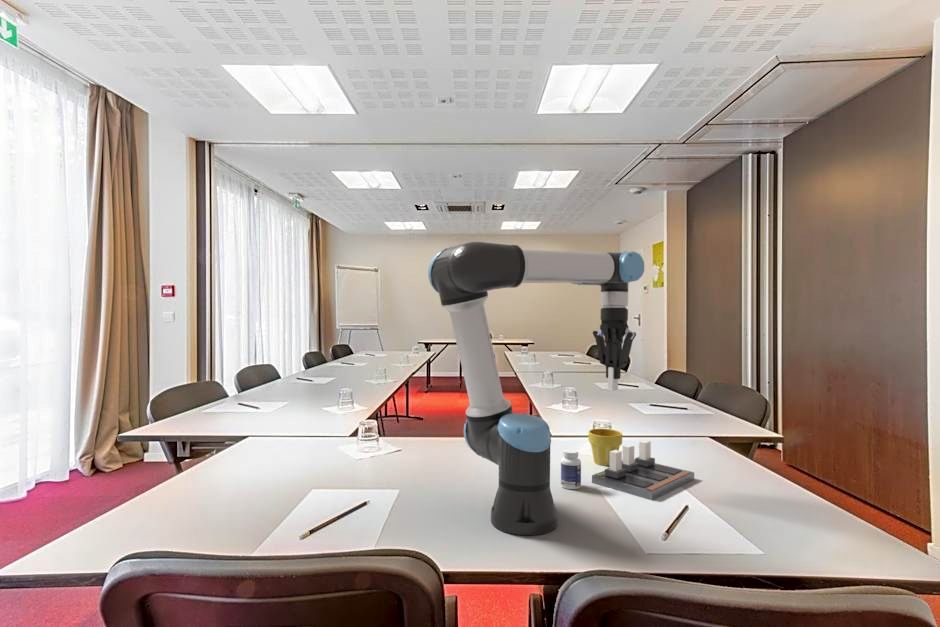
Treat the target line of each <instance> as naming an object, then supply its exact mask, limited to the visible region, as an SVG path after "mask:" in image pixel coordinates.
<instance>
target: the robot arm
mask: <svg viewBox="0 0 940 627" xmlns="http://www.w3.org/2000/svg"><path fill="white" fill-rule="evenodd" d="M644 273H645V261H644V258H643V256H642V255H641V254H640V253H638V252H636V251H623V252H621V251H618V252H616V251H612V252H611V251H610V252H609V251H607V252H602V251H601V252H600V251H569V250H568V251H567V250H541V249H540V250H533V249H523V248H522V247H521V246H519V244H518V245H516V244H504V243H497V242H496V243H493V242H486V241H485V242H484V241H470V242H465V243H462V244H459V245H453V246H449V247H446V248H444V249H443V250H440V251H439V252H437V253H436V254H435V255H434V256H433V257H432V260H431V261H430V264H429V265H428V273H427V276H428V282H429V284H430V285H431V287H432V289H434V290H435V292H437V293H438V294H439V300H440V304H441V307H442V308H444V309H445V310H446V311H448V312H449V315H450V319H451V320H450V322H451V325H452V329H453V335H454V339H455V342H456V347H457V352H458V356H459V360H460V365H461V369H462V370H461V371H462V374H463V375H462V376H463V378H464V384H465V387H466V392H467V393H466V394H467V396H468V401H469V406H468V407H467V408H466V410H465V416H466V421H465V423H464V426H463V437H464V440H465V443H466V444H467V446H468V447H469V448H470V450H471V451H473V452H474V453H475V454H476V455H477V456H478V457H481V458H483V459H486V460H488V461H489V462H491V463H494V464H495V465H497V466H498V488H497V490H496V493H495V497H494V500H493V505H492V506H491V508H490V522H491V524H492V525H493V527H495V528H496V529H497V530H499V531H502V532H505V533H509V534H513V535H519V536H520V535H521V536H536V535H542V534H546V533H549V532H552V531H554V530H555V529H556V528H557V526H558V524H559V516H558V515H559V513H558V510H557V508H556V505H555V501H554V498H553V494H552V491H551V444H552V438H551V432H550V430H551V429H550V425H549V424H548V422H546V421H545V420H544V419H543V418H541V417H539V416H537V415H533V414H527V413H514V411H513V408H512V403H511V401H510V400H509V399H507V398H506V397H504V395H503V394H504V393H503V390H502V384H501V380H500V379H501V378H500V375H499V370H498V366H497V362H496V357H495V356H496V355H495V352H494V347H493V343H492V337H491V332H490V328H489V323H488V317H487V315H486V308H485V302H486V301H487V299H488V297H489V293H488V291H493V290H500V289H505V288H507V289H509V288H510V289H512V288H514V289H515V288H518V287H519V286H521V285H522V284H559V283H561V284H563V283H565V284H569V283H570V284H572V285H578V286H583V285H584V286H600V306H602V307H601V309H600V321H601V323H600V325H599V328H598V329H596V330H593V331H592V335H593V336H594V339H595V343H596V348H597V354H598V359H599V363H600V364H601V365H604V366H605V378H606V379H607V391H611V392H615V391H619V380H620V379H621V374H622V373H621V368H622V367H624V366H625V367H626V366H627V365H628V362H629V358H630V354H631V350H632V346H633V342H634V339H635V337H636V336H637V333H636V332H634V331H631V330H630V329H629V325H628V320H629V309H628V308H627V307H628V306H629V283H632V282H637V281H639V280H640V279H641V278H642V277H643V275H644Z"/></svg>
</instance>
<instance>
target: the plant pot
mask: <svg viewBox="0 0 940 627" xmlns="http://www.w3.org/2000/svg"><path fill="white" fill-rule="evenodd" d="M588 443H589V444H590V446H591V447H590V448H591V452H592V458H593V462H594V463H595V464H597V465H599V466H604V467H605V466H606V467H607V466H609V459H610V451H613V450H619V451H620V447H621V446H622V444H623V433H622V431H620V430H615V429H611V428H603V427H602V428H593V429H592V428H591V429H589V430H588Z"/></svg>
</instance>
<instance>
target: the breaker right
mask: <svg viewBox="0 0 940 627" xmlns="http://www.w3.org/2000/svg"><path fill="white" fill-rule="evenodd" d="M651 443H652V442H651V441H650V440H641V441H639V442H638V445H639V447H638V448H639V452H638V453H639V454H638V457H634V460H635V462H636V463H639V465H642V466H647V467H648V466H650V465H653V464H655V463H656V458H655V457H651V456H652V454H651V453H652V452H651V450H652V449H651V447H652V446H651Z"/></svg>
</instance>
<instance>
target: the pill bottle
mask: <svg viewBox="0 0 940 627" xmlns="http://www.w3.org/2000/svg"><path fill="white" fill-rule="evenodd" d="M562 454H563V457H562V458H561V460H560V486H561V487H562V488H564V489H567V490H577V489H580V488H581V487H582V462H581V459H580V458H579V451H578V450H577V449H572V448H567V449H566V448H565V449H564V450H563V453H562Z"/></svg>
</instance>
